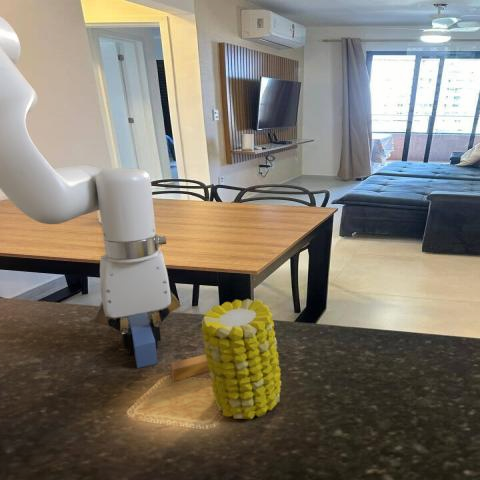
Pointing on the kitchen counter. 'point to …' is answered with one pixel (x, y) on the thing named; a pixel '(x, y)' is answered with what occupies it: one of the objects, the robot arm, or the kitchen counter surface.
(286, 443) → the kitchen counter surface
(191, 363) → the tan wooden bar
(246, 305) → the food
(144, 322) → the blue stick
